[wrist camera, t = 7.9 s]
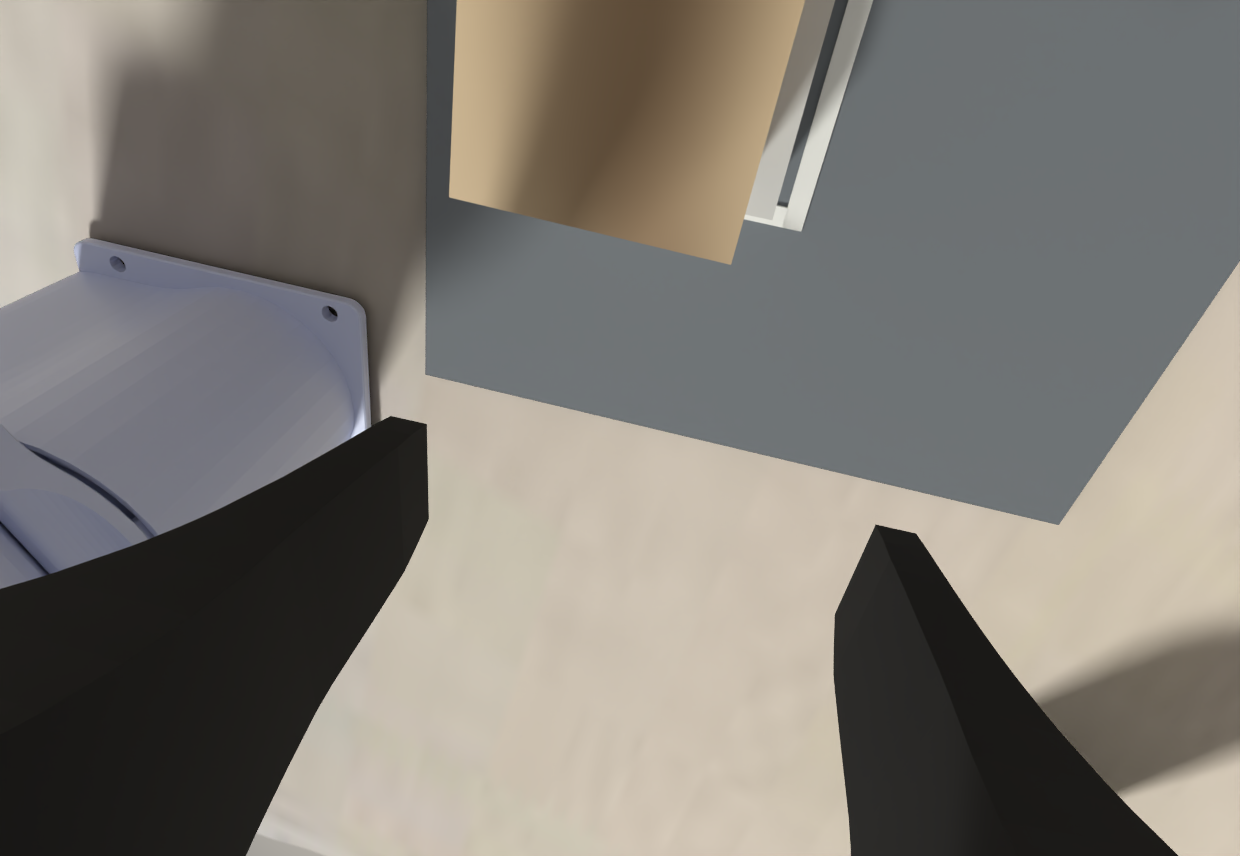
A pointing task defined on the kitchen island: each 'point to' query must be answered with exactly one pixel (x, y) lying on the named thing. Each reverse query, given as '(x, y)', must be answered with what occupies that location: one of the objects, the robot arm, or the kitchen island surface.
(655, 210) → the oak block
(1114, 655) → the kitchen island surface
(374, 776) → the kitchen island surface
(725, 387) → the slate mat
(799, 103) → the block
